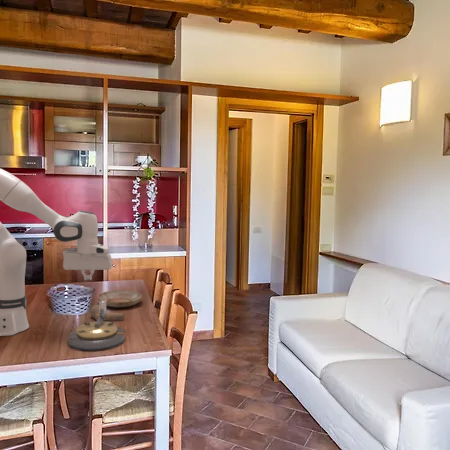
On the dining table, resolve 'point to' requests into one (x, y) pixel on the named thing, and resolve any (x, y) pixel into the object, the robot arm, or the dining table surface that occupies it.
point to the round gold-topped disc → (97, 327)
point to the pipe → (109, 316)
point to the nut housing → (96, 342)
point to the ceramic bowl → (120, 298)
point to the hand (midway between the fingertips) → (87, 279)
